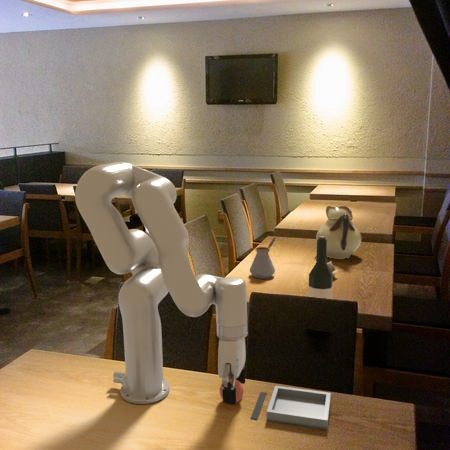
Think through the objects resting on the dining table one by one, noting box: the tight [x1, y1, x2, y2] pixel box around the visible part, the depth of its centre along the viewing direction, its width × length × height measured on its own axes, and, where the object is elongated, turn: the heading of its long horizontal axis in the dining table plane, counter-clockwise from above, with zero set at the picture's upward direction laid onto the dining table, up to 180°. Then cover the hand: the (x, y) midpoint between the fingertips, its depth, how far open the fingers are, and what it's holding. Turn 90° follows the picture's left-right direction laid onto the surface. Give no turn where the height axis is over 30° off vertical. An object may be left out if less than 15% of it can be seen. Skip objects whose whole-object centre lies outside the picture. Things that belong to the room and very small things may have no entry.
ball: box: [219, 379, 244, 403], centre depth 125 cm, size 6×6×6 cm
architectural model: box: [326, 260, 339, 278], centre depth 221 cm, size 3×7×7 cm, turn 143°
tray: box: [266, 385, 332, 431], centre depth 121 cm, size 14×12×2 cm
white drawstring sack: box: [315, 205, 362, 260], centre depth 254 cm, size 22×24×25 cm
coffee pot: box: [249, 237, 278, 280], centre depth 229 cm, size 21×12×15 cm, turn 152°
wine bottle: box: [307, 236, 334, 300], centre depth 174 cm, size 8×8×30 cm
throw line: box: [250, 391, 267, 421], centre depth 123 cm, size 2×12×1 cm, turn 165°
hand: (234, 392), depth 125 cm, fingers open, 9 cm apart
